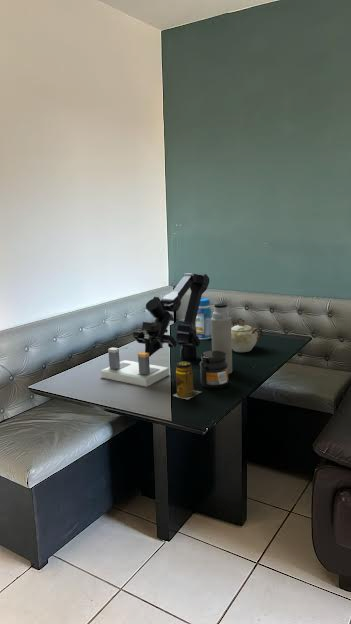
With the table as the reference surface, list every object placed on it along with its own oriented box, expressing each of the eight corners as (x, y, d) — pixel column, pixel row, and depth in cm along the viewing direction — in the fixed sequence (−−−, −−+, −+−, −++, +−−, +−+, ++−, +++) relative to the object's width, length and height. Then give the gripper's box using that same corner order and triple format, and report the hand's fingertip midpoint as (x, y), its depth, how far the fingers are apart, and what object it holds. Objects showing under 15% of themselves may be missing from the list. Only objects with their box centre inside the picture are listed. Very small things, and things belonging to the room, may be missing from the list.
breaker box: (125, 366, 214) (124, 359, 213) (168, 374, 201) (168, 367, 200) (101, 377, 202) (100, 369, 201) (146, 386, 189) (146, 378, 188)
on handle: (113, 366, 204) (112, 347, 202) (120, 367, 202) (118, 348, 200) (109, 368, 202) (108, 348, 200) (116, 369, 200) (114, 350, 198)
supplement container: (227, 389, 182) (226, 358, 179) (198, 389, 184) (197, 358, 181) (229, 379, 192) (228, 350, 190) (202, 379, 194) (201, 350, 191)
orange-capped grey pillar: (142, 371, 196) (141, 351, 194) (150, 372, 194) (148, 352, 192) (139, 373, 194) (137, 353, 192) (146, 374, 192) (145, 354, 190)
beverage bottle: (212, 339, 249) (211, 300, 245) (196, 340, 249) (194, 301, 245) (211, 335, 258) (210, 297, 253) (195, 335, 258) (194, 298, 253)
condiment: (171, 395, 179) (170, 364, 176) (186, 388, 185) (185, 358, 183) (187, 400, 174) (186, 367, 172) (202, 392, 181) (200, 361, 178)
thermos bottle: (215, 367, 207) (213, 302, 201) (234, 368, 204) (232, 302, 198) (210, 374, 199) (208, 306, 193) (229, 375, 197) (228, 306, 191)
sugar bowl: (216, 352, 227) (215, 320, 224) (227, 343, 240) (226, 313, 237) (257, 356, 219) (257, 323, 216) (267, 347, 232) (266, 316, 229)
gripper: (133, 311, 200) (117, 344, 193) (171, 315, 189) (155, 350, 183) (146, 326, 208) (131, 358, 201) (183, 330, 197) (169, 364, 191)
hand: (146, 357), depth 194 cm, fingers closed, pressing on orange-capped grey pillar
